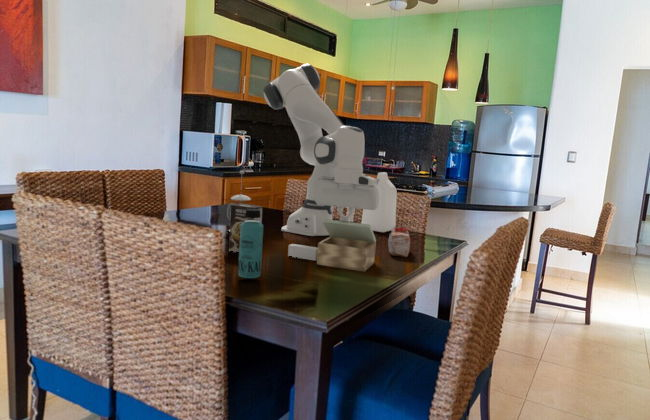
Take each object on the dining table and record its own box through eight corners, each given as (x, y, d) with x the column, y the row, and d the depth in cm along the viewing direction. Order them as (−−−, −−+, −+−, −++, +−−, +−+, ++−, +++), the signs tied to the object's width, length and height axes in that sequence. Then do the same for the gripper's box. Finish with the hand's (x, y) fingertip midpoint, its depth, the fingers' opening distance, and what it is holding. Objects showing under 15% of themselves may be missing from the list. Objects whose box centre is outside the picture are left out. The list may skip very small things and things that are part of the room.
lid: (321, 221, 162) (322, 218, 162) (331, 237, 173) (331, 235, 174) (369, 227, 157) (370, 224, 157) (376, 243, 168) (376, 241, 169)
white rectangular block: (287, 256, 170) (288, 245, 170) (291, 255, 173) (292, 243, 173) (315, 261, 167) (316, 249, 166) (318, 259, 170) (319, 247, 169)
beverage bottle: (238, 276, 143) (241, 206, 140) (261, 277, 143) (265, 207, 141) (236, 283, 136) (239, 210, 134) (260, 284, 137) (264, 211, 134)
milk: (373, 225, 242) (378, 171, 238) (395, 229, 235) (400, 173, 231) (360, 228, 232) (365, 171, 228) (382, 232, 226) (387, 174, 222)
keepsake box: (316, 264, 162) (318, 242, 161) (328, 256, 173) (330, 236, 172) (364, 271, 157) (366, 249, 156) (374, 263, 168) (375, 242, 167)
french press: (256, 232, 207) (259, 171, 203) (237, 236, 197) (239, 172, 193) (238, 228, 212) (240, 169, 208) (218, 232, 202) (220, 169, 199)
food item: (410, 258, 179) (412, 231, 177) (387, 256, 180) (390, 229, 178) (407, 250, 192) (409, 224, 191) (386, 248, 193) (388, 223, 192)
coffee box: (228, 251, 171) (229, 204, 169) (237, 248, 177) (239, 202, 175) (252, 255, 168) (254, 207, 166) (260, 251, 174) (263, 205, 172)
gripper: (313, 175, 159) (310, 219, 160) (377, 180, 152) (373, 225, 154) (320, 175, 165) (317, 217, 166) (381, 180, 158) (378, 224, 160)
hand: (345, 221), depth 160 cm, fingers closed, pressing on lid
